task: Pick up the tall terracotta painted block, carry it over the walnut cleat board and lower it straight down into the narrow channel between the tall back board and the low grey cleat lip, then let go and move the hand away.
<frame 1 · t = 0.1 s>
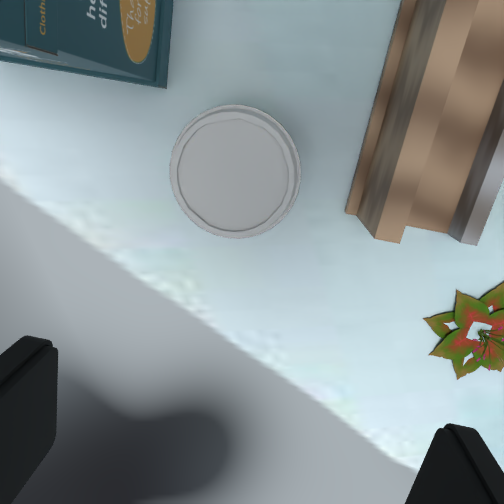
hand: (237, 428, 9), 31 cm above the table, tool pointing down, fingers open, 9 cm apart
cleat board: (442, 120, 35), on the table
lily flower: (476, 328, 42), on the table
disposable coffee cup: (247, 161, 38), on the table
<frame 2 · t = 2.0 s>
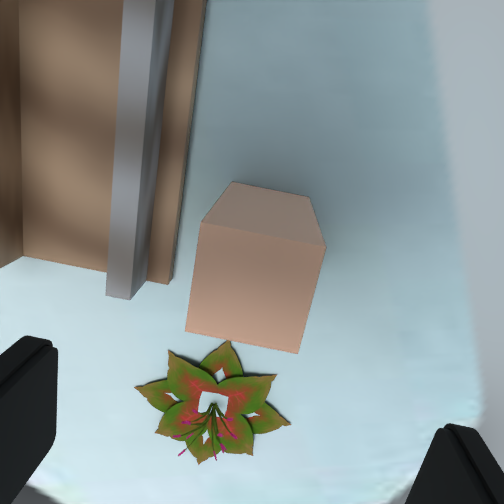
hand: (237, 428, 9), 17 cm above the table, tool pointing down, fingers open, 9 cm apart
terracotta block: (262, 226, 25), on the table
cleat board: (86, 111, 24), on the table
lily flower: (214, 398, 31), on the table
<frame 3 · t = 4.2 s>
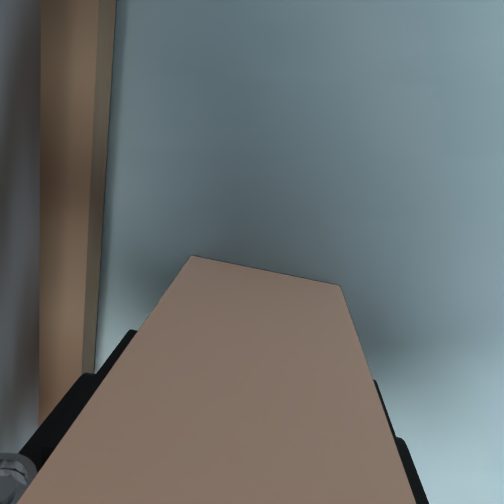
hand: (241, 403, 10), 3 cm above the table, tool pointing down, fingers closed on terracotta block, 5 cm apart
terracotta block: (251, 335, 13), on the table, touching gripper
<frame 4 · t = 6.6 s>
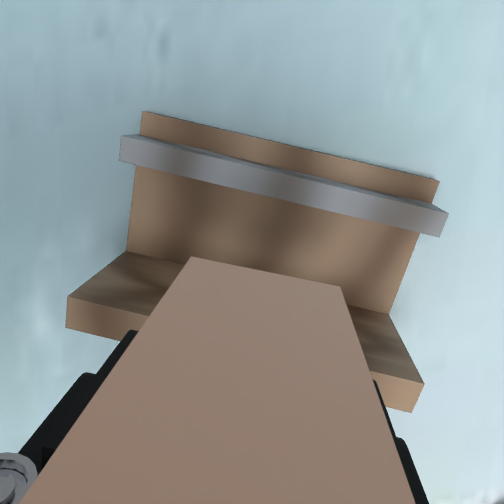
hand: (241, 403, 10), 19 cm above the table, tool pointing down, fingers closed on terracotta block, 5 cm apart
terracotta block: (251, 336, 13), point 15 cm above the table, touching gripper
cleat board: (268, 234, 28), on the table
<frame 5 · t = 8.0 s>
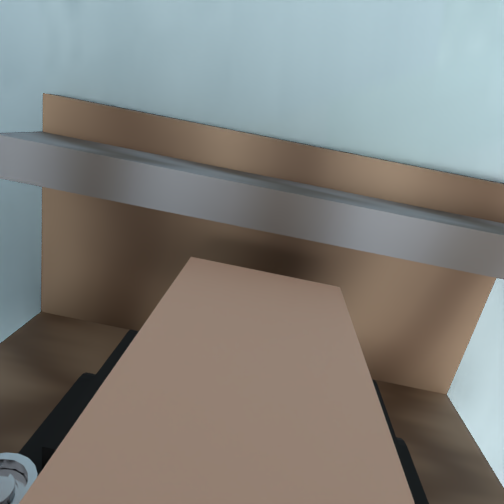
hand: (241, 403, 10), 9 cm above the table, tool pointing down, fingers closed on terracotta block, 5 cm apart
terracotta block: (251, 336, 13), point 5 cm above the table, touching gripper
cleat board: (257, 279, 18), on the table
when the fingers open (6 cm above the table, at t = 9.0 s): terracotta block drops 1 cm, resting on cleat board.
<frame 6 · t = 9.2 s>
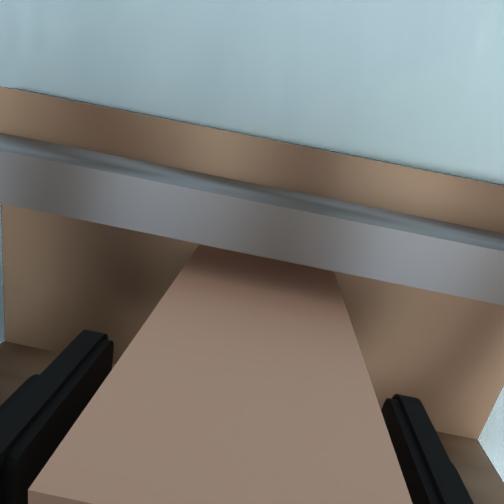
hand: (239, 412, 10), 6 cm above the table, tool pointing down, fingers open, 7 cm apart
terracotta block: (253, 317, 15), point 1 cm above the table, touching cleat board
cleat board: (256, 304, 16), on the table
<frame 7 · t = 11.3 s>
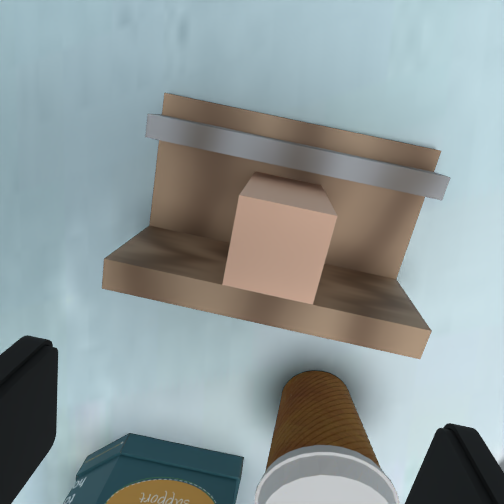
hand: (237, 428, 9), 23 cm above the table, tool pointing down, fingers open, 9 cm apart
terracotta block: (281, 210, 29), point 1 cm above the table, touching cleat board
cleat board: (281, 207, 30), on the table
donation box: (159, 496, 42), on the table
disposable coffee cup: (315, 397, 36), on the table
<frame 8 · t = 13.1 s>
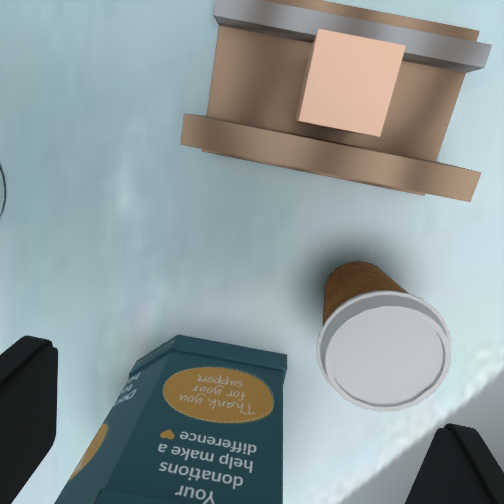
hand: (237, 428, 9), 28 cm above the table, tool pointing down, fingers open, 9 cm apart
terracotta block: (330, 96, 32), point 1 cm above the table, touching cleat board
cleat board: (329, 96, 33), on the table
donation box: (204, 400, 44), on the table
disposable coffee cup: (355, 290, 38), on the table
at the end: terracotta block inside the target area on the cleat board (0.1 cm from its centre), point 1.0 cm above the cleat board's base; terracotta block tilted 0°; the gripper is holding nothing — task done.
